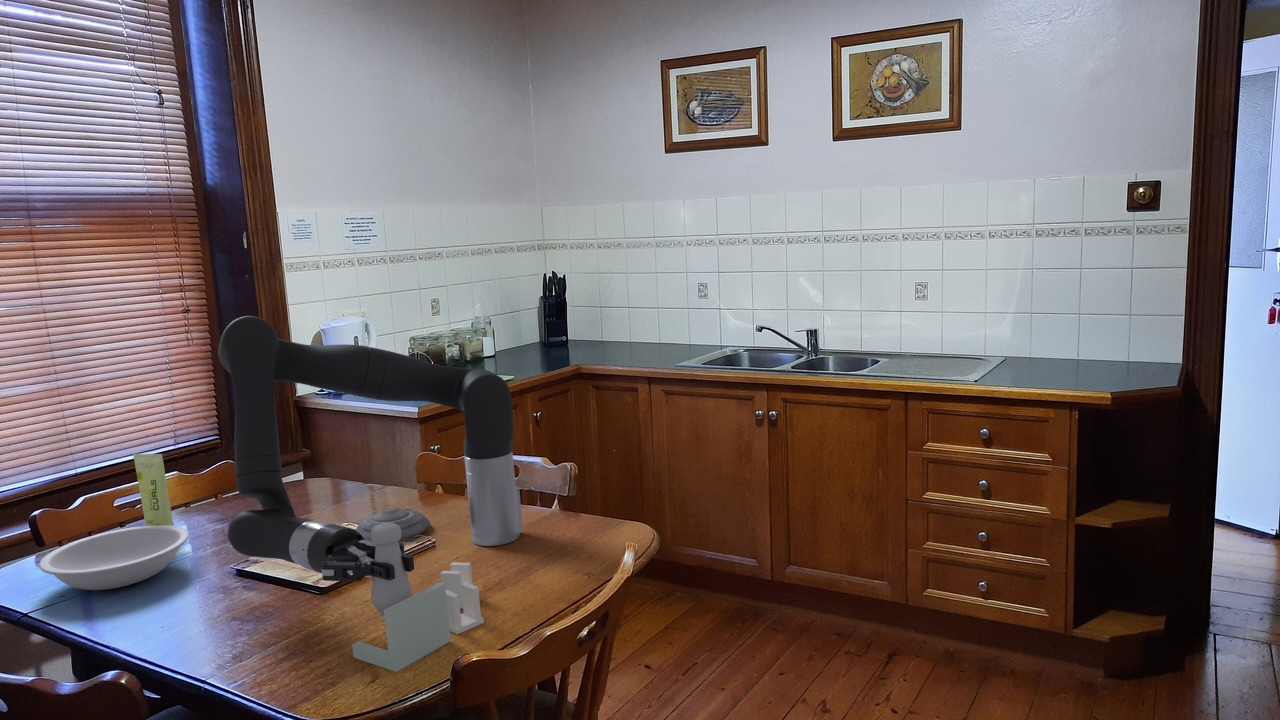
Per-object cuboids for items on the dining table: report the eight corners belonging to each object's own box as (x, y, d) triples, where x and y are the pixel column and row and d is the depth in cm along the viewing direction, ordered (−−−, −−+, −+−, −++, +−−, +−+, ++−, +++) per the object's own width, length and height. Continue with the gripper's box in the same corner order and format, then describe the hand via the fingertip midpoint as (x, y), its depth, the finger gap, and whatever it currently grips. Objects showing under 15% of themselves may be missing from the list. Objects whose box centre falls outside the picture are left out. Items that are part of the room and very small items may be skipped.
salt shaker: (402, 620, 129) (394, 533, 127) (365, 618, 130) (356, 532, 128) (419, 602, 134) (412, 519, 132) (384, 601, 135) (376, 518, 133)
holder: (408, 628, 140) (402, 573, 138) (450, 640, 134) (444, 583, 133) (353, 657, 131) (346, 599, 130) (396, 672, 126) (389, 611, 124)
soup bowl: (134, 552, 182) (129, 520, 181) (222, 562, 173) (217, 530, 172) (13, 600, 161) (7, 565, 160) (107, 616, 151) (101, 579, 150)
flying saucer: (341, 537, 184) (338, 511, 183) (408, 517, 194) (405, 493, 193) (375, 554, 173) (372, 526, 172) (444, 532, 183) (441, 506, 182)
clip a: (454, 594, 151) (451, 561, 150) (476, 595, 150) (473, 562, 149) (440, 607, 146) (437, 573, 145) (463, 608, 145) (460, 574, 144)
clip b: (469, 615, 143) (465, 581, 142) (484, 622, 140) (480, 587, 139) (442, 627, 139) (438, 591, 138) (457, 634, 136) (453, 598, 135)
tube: (144, 552, 181) (129, 458, 178) (147, 544, 186) (133, 453, 183) (175, 547, 184) (162, 454, 180) (177, 539, 188) (164, 448, 185)
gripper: (283, 539, 133) (360, 560, 123) (361, 511, 144) (437, 528, 134) (289, 587, 134) (365, 612, 124) (365, 556, 145) (441, 576, 136)
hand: (402, 568), depth 129 cm, fingers closed on salt shaker, 3 cm apart
